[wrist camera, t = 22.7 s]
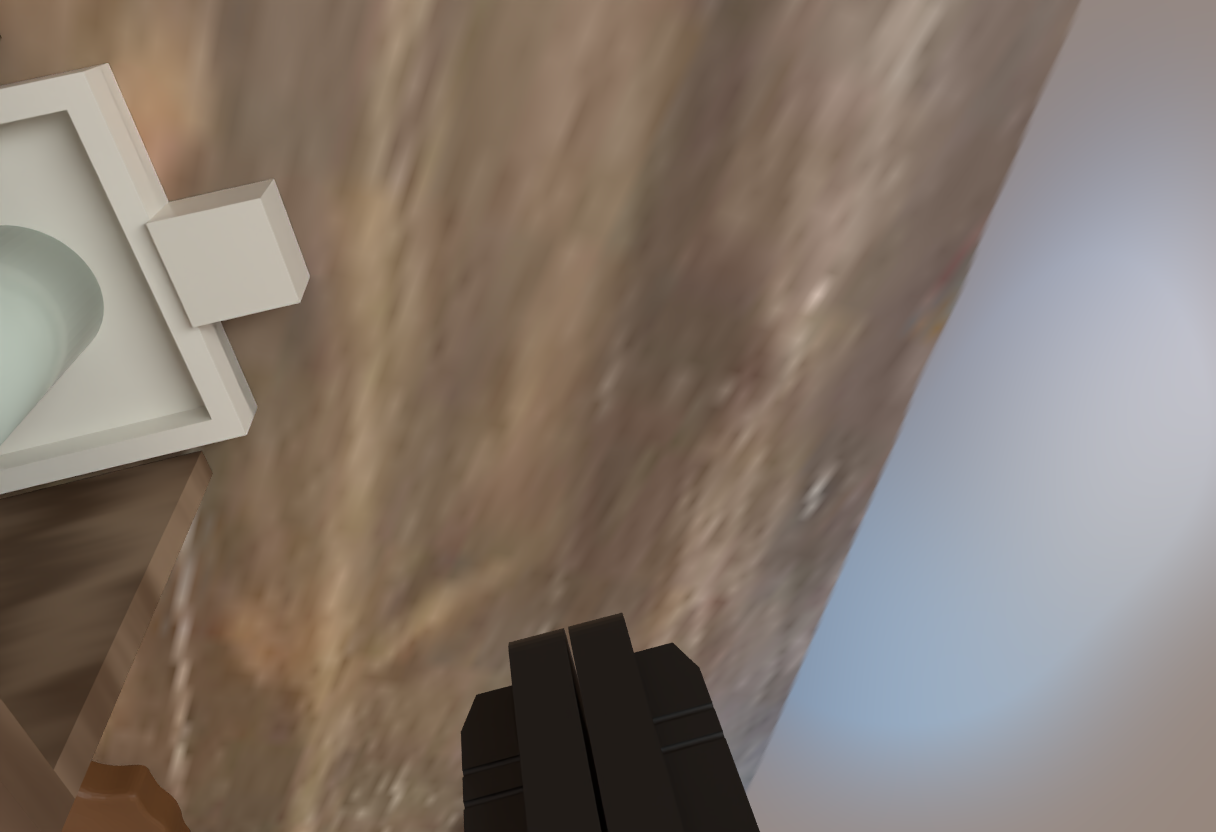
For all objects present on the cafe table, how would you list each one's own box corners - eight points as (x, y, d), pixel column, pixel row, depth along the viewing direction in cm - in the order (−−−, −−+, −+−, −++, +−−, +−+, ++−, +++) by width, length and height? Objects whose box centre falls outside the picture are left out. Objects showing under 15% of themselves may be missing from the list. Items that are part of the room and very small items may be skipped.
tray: (222, 38, 31) (202, 46, 28) (350, 384, 38) (343, 416, 35) (-247, 137, 30) (-312, 155, 27) (-28, 474, 37) (-63, 514, 34)
